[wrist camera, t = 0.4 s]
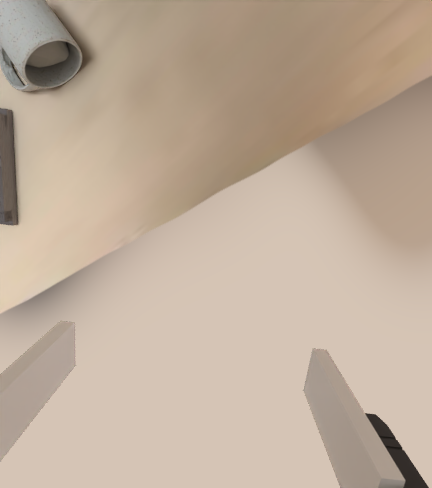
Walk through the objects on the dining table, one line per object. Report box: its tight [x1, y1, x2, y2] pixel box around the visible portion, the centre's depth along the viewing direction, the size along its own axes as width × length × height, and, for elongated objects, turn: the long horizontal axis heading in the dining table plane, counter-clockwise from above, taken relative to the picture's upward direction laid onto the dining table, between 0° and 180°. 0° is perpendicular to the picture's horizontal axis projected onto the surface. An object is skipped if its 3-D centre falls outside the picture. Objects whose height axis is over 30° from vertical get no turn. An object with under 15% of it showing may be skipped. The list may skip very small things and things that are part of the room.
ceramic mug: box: [0, 0, 82, 91], centre depth 33 cm, size 11×8×8 cm
